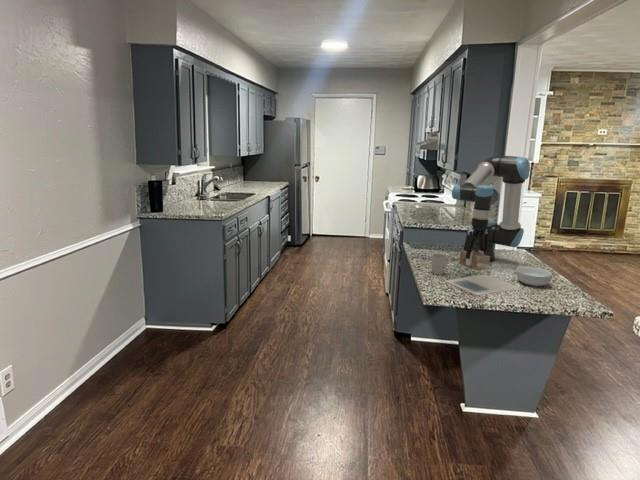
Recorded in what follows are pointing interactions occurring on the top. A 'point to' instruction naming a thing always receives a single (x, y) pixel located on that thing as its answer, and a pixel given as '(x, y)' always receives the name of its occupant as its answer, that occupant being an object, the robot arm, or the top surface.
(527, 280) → the cereal bowl
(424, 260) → the top surface
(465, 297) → the top surface
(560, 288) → the top surface
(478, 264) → the block
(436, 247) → the top surface
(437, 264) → the cup
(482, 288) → the mat
